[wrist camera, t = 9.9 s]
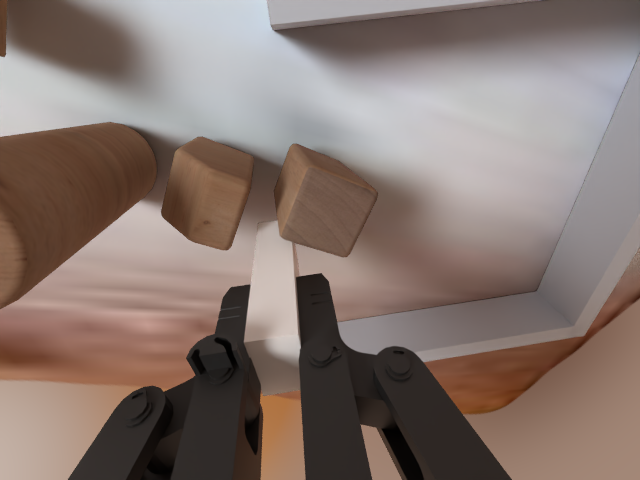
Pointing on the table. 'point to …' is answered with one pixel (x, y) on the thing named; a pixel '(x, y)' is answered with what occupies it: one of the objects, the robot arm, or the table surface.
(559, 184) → the table surface
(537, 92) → the table surface
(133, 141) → the wooden block set
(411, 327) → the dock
